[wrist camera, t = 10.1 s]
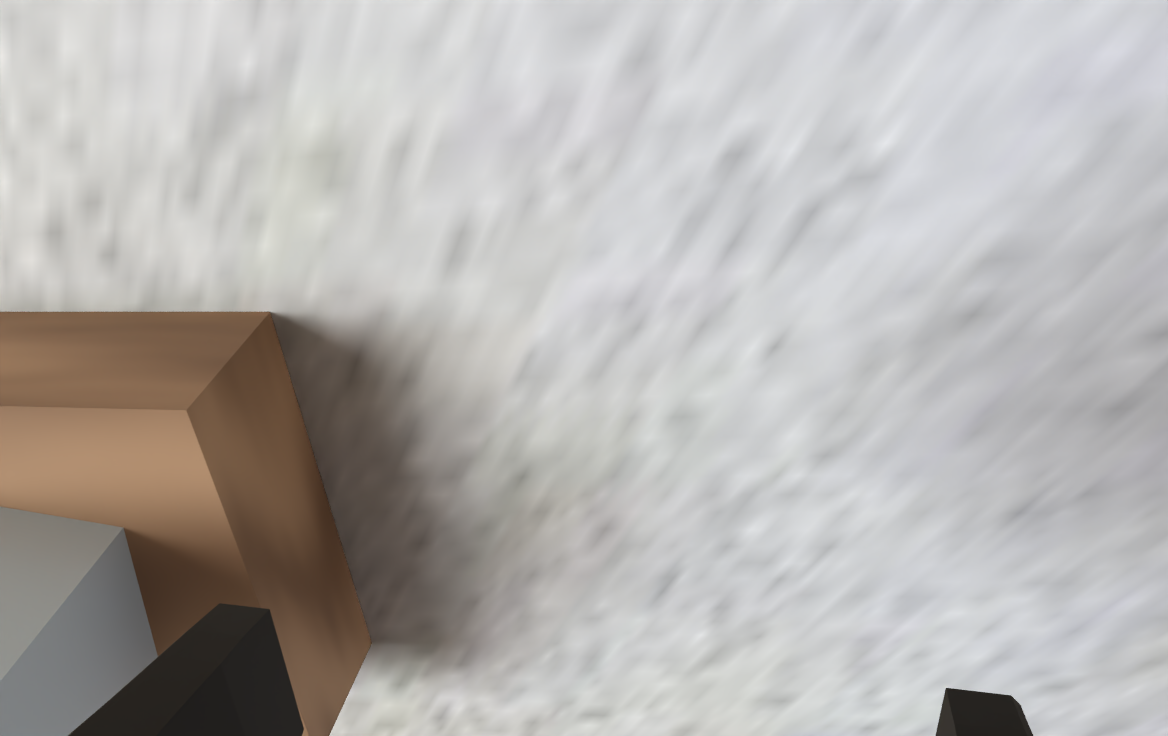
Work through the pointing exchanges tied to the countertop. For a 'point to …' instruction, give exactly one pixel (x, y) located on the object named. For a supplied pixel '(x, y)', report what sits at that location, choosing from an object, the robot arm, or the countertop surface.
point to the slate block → (65, 621)
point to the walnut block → (186, 475)
